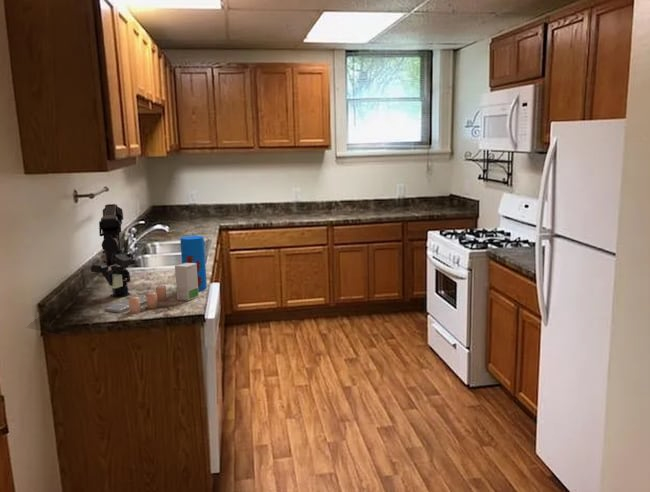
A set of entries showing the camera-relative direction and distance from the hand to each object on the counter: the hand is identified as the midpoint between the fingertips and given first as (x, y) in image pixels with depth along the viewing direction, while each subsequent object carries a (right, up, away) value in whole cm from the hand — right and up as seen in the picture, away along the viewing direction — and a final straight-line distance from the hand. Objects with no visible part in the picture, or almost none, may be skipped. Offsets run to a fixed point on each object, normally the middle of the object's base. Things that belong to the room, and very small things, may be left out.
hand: (115, 284), depth 227 cm
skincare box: (+26, -8, +17) cm, 32 cm away
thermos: (+26, -5, +33) cm, 42 cm away
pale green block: (0, -1, 0) cm, 1 cm away
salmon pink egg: (+14, -10, +4) cm, 18 cm away
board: (+4, -10, +7) cm, 12 cm away
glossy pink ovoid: (+15, -8, +14) cm, 22 cm away
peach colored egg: (+9, -11, -2) cm, 15 cm away
